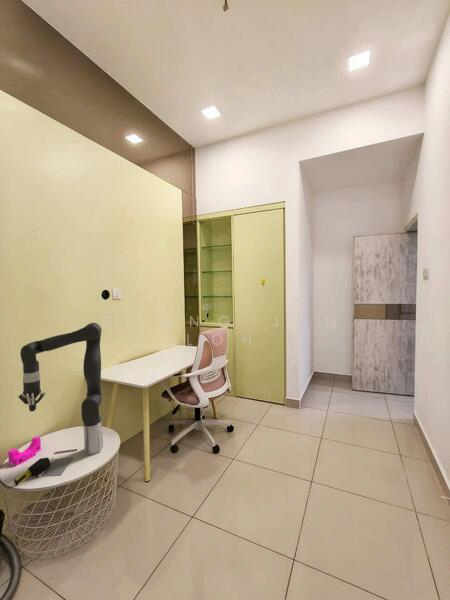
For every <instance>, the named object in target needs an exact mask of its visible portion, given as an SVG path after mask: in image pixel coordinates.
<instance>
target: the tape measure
mask: <svg viewBox="0 0 450 600" xmlns="http://www.w3.org/2000/svg"><path fill="white" fill-rule="evenodd" d="M50 466H51V463H50V458H49V457H41V458H39V459H38V460H36V461H35V462H34V463H33V464H31V465H30V466H29V467H28V468H27V471H25V472H24V473H22V474H21V475H20V476H19V477H18V478H15V479H13V482H14V483H15V484H14V485H15V486H16V485H18V484H19V483H21V482H22V483H23V482H24V481H25V480H27V479H28V478H29V477H30V476H36V475H37V476H38V475H39V474H40V473H42V472H44V471H45V470H47V469H48V468H49V467H50ZM22 483H21V484H22ZM19 485H20V484H19ZM19 485H18V486H19Z"/></svg>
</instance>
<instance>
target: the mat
mask: <svg viewBox="0 0 450 600" xmlns="http://www.w3.org/2000/svg"><path fill="white" fill-rule="evenodd" d="M72 459H73V456H72V457H64V458H62V457H61V458H55V456H52V457H50V458H49V460H50V463H51V466H50V467H49V468H48V469H47V470H45V471H44V472H42V473H40V474H37V476H38V478H41V477H42V478H44V477H45V478H46V477H54V476H55V477H58V476H62V475H63V474H64V472H65V470H66V469H67V467H68V466H69V464H70V463H71V461H72Z"/></svg>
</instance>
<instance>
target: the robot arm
mask: <svg viewBox="0 0 450 600" xmlns="http://www.w3.org/2000/svg"><path fill="white" fill-rule="evenodd" d="M101 338H102V327H101V325H100V324H98V323H97V322H90V323H88V324H86V325H85V326H84V327H82V328H80V329H77V330H75V331H72V332H68V333H62V334H58V335H54V336H50V337H47V338H44V339H40V340H35V341H32V342H29V343H26V344H24V345H23V346H22V347H21V349H20V353H19V355H20V359H21V363H22V370H23V372H22V373H23V374H22V387H23V388H22V389H23V391H22V393H21V394H19V395H18V396H17V397H18V399H20V401H21V402H23V404H24V405H27V406H28V410H29V412H35V411H36V409H37V404H38V403H39V402H41V400H42V399H43V398H44V397H45V396H46V392H43V391H42V390H41V372H40V363H39V360H38V359H37V355H39V354H41V353H45V352H51V351H54V350H56V349H60V348H63V347H67V346H69V345H73V344H76V343H80V342H81V343H82V342H85V343H86V344H85V345H86V346H85V353H84V358H83V366H82V367H83V369H82V370H83V371H82V372H83V377H84V380H85V382H86V387H87V390H86V397H85V398H84V400H83V401H82V402H81V408H80V410H81V411H80V412H81V421H82V422H83V442H84V443H83V444H84V445H83V447H84V450H83V451H84V454H85V455H88V456H91V455H95V454H99V453H101V452H102V450H103V448H104V433H103V431H102V416H101V415H100V407H101V405H102V402H103V398H102V388H101V383H102V382H101V380H102V379H101V378H102V356H101V355H102V354H101ZM38 396H39V397H38Z"/></svg>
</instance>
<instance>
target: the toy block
mask: <svg viewBox="0 0 450 600" xmlns="http://www.w3.org/2000/svg"><path fill="white" fill-rule="evenodd" d="M41 446H42V442H41V437H40V436H34V437H32V439H31V442H30V444H29V446H28V447H27V448H25V450H23V451H21V452H20V451H19V449H17V448H12V449H10V450H8V451H7V454H8V455H7V457H8V463H9V462H10V463H12V464H14V465H13V466H15V465H18V466H20V465H21V464H24V463H25V462H26V461H28V460H30V459H32V458H34V457H36V456H37V453H38V452H40V451H41V450H42V447H41ZM12 464H11V465H12ZM19 464H20V465H19Z"/></svg>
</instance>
